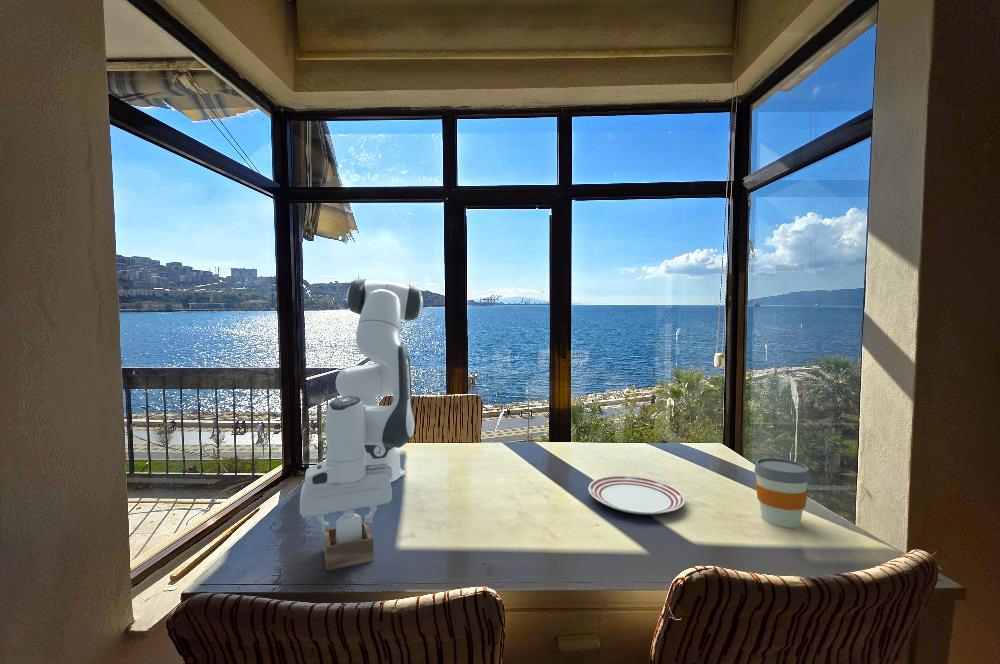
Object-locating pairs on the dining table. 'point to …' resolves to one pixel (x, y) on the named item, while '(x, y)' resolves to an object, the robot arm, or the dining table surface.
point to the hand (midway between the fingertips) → (347, 527)
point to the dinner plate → (636, 494)
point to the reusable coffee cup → (781, 490)
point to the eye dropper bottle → (348, 527)
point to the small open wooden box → (348, 549)
